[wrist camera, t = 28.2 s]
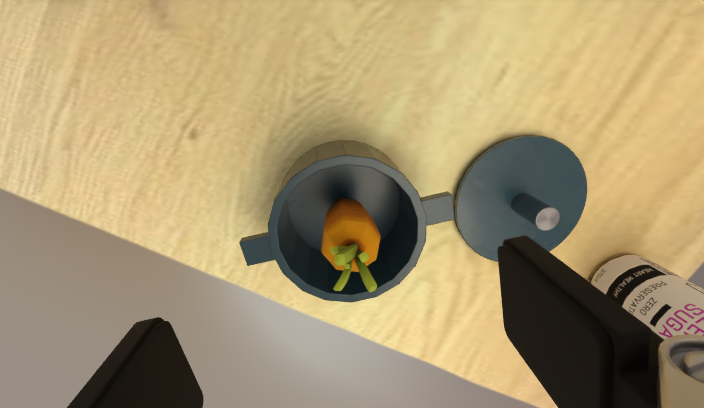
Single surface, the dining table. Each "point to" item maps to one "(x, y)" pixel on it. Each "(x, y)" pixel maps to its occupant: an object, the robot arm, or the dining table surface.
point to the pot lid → (520, 195)
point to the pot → (323, 191)
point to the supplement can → (653, 295)
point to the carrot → (350, 241)
